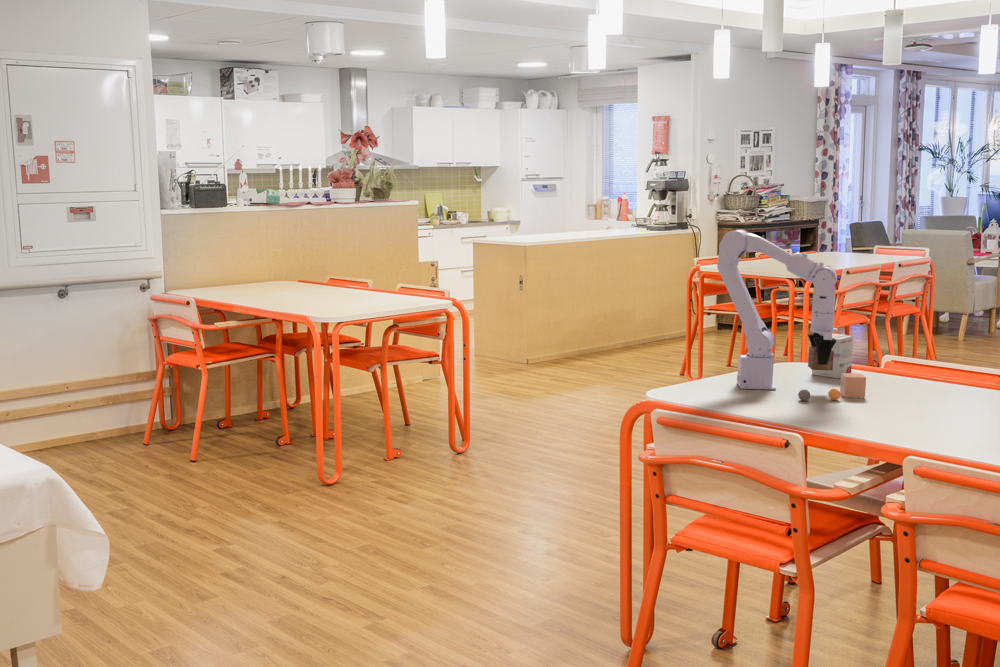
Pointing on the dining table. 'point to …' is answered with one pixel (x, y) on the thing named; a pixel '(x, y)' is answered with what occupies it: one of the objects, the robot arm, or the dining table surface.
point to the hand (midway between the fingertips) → (820, 362)
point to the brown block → (814, 360)
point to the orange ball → (834, 394)
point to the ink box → (839, 357)
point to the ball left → (804, 395)
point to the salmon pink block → (852, 385)
